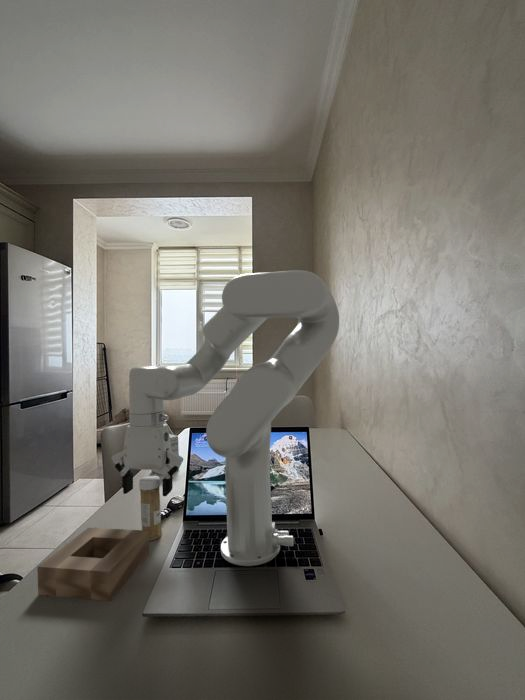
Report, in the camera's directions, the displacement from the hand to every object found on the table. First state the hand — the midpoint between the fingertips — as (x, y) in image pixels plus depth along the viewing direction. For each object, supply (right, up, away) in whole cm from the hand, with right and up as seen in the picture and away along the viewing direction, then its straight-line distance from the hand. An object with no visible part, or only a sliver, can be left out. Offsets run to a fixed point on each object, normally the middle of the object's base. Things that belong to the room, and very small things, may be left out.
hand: (147, 492), depth 82 cm
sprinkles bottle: (+1, -10, 0) cm, 10 cm away
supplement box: (-8, -11, +46) cm, 48 cm away
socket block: (-5, -10, -13) cm, 18 cm away
